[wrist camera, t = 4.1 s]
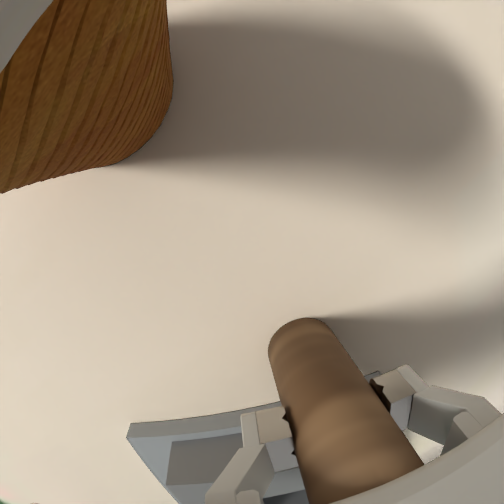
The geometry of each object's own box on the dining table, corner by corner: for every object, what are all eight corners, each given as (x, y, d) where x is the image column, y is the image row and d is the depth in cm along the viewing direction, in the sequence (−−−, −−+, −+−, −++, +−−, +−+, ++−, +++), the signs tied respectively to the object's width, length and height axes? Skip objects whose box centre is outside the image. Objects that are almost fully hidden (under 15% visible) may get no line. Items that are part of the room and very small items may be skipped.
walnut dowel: (261, 328, 13) (336, 586, 2) (330, 310, 13) (487, 512, 2) (274, 382, 14) (334, 596, 3) (336, 365, 14) (444, 550, 3)
